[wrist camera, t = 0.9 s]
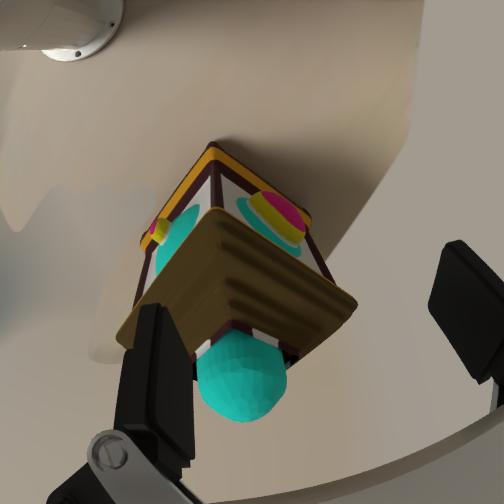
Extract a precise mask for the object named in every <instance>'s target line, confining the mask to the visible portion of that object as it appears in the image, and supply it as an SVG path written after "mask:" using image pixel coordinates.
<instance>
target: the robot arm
mask: <svg viewBox="0 0 504 504" xmlns="http://www.w3.org/2000/svg"><path fill="white" fill-rule="evenodd" d="M123 11H124V0H0V51H9V50H41V51H42V52H43V53H44V54H45V55H46V56H47V57H49V58H50V59H53V60H56V61H61V62H73V61H78V60H82V59H84V58H87V57H89V56H91V55H93V54H94V53H96V52H97V51H99V50H100V49H101V48H103V47H104V46H105V45H106V44H107V43H108V42H109V41H110V39H111V38H112V37H113V35H114V34H115V33H116V31H117V29H118V27H119V25H120V22H121V19H122V17H123ZM113 23H115V25H114V26H113V27H112V24H113ZM80 53H81V56H80V55H79V54H80ZM428 309H429V312H430V314H431V315H432V316H433V318H434V319H435V321H436V322H437V324H438V325H439V327H440V328H441V330H442V331H443V333H444V334H445V335H446V337H447V339H448V340H449V342H450V343H451V345H452V346H453V348H454V349H455V351H456V353H457V354H458V356H459V357H460V359H461V361H462V362H463V364H464V365H465V367H466V369H467V370H468V372H469V373H470V375H471V377H472V378H473V379H476V380H477V382H478V384H479V385H480V384H482V383H484V382H485V381H487V380H489V379H490V377H491V376H492V378H493V379H494V384H493V392H492V400H491V407H490V413H489V414H488V415H486V416H485V417H483V418H481V419H479V420H478V421H476V422H474V423H473V424H471V425H469V426H467V427H465V428H464V429H462V430H460V431H458V432H456V433H454V434H453V435H451V436H449V437H447V438H445V439H443V440H441V441H439V442H437V443H435V444H432V445H430V446H428V447H426V448H424V449H422V450H420V451H417V452H415V453H413V454H410V455H408V456H405V457H403V458H401V459H398V460H396V461H393V462H390V463H388V464H385V465H382V466H380V467H377V468H374V469H371V470H368V471H365V472H362V473H360V474H356V475H353V476H350V477H346V478H343V479H340V480H336V481H332V482H329V483H325V484H321V485H317V486H313V487H309V488H305V489H300V490H296V491H290V492H285V493H280V494H275V495H270V496H264V497H257V498H250V499H243V500H235V501H226V502H219V503H210V504H504V282H503V281H502V280H501V279H500V278H499V277H498V276H497V274H496V273H495V272H494V271H493V270H492V269H491V268H490V267H489V266H488V265H487V264H486V263H485V262H484V261H483V260H482V259H481V258H480V257H479V256H478V255H477V254H476V253H475V252H474V251H473V250H472V249H471V248H470V247H469V246H468V245H467V244H466V243H465V242H463V241H462V240H456V241H452V242H448V243H446V245H445V247H444V248H443V250H442V253H441V257H440V261H439V265H438V269H437V273H436V277H435V280H434V284H433V288H432V291H431V295H430V298H429V301H428ZM194 459H195V439H194V411H193V366H192V361H191V358H190V356H189V354H188V352H187V349H186V347H185V345H184V343H183V341H182V339H181V337H180V334H179V332H178V330H177V328H176V326H175V323H174V321H173V319H172V317H171V314H170V312H169V310H168V308H167V306H161V304H160V303H158V302H157V303H151V304H145V305H141V307H140V310H139V315H138V321H137V326H136V332H135V337H134V343H133V348H132V349H127V350H126V352H125V354H124V358H123V364H122V370H121V377H120V383H119V389H118V397H117V403H116V411H115V419H114V427H113V430H111V429H110V430H106V431H102V432H100V433H99V434H97V435H96V436H95V437H94V438H93V439H92V440H91V442H90V444H89V445H88V449H87V460H88V462H87V463H86V464H85V465H84V466H83V467H82V468H80V469H79V470H78V471H77V472H76V473H75V474H73V475H72V476H71V477H70V478H69V479H67V480H66V481H65V482H64V483H63V484H61V485H60V486H59V487H58V488H57V489H55V490H54V491H53V492H52V493H51V494H50V496H49V497H48V499H47V502H46V504H206V503H204V502H203V501H202V500H201V499H200V498H199V497H198V496H197V495H196V494H195V493H194V492H193V491H191V490H190V489H189V488H188V487H187V486H186V485H185V484H184V483H183V482H182V481H181V480H180V479H181V478H182V468H188V467H189V468H190V460H194Z"/></svg>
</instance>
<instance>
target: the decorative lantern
mask: <svg viewBox="0 0 504 504" xmlns="http://www.w3.org/2000/svg"><path fill="white" fill-rule="evenodd" d="M311 222H312V218H311V216H310V214H309V213H308V211H307V210H306V209H304V208H300V207H299V206H297V205H296V204H295V203H294V202H292V201H291V200H290V199H288V198H287V197H286V196H285V195H283V194H282V193H281V192H279V191H278V190H277V189H275V188H274V187H273V186H271V185H270V184H269V183H267V182H266V181H265V180H263V179H262V178H261V177H259V176H258V175H257V174H255V173H254V172H253V171H251V170H250V169H249V168H247V167H246V166H245V165H243V164H242V163H240V162H239V161H238V160H236V159H235V158H234V157H232V156H231V155H229V154H228V153H227V152H225V151H224V150H223V149H222V148H220V146H219V145H218V144H217V143H216V142H215V141H211V142H210V143H209V144H208V145H207V147H206V149H205V151H204V152H203V154H202V155H201V156H200V158H199V159H198V160H197V162H196V163H195V164H194V166H193V167H192V168H191V169H190V171H189V172H188V174H187V175H186V176H185V178H184V179H183V180H182V182H181V183H180V184H179V186H178V187H177V188H176V190H175V191H174V193H173V194H172V195H171V197H170V198H169V200H168V201H167V203H166V204H165V205H164V207H163V208H162V210H161V211H160V213H159V214H158V215H157V217H156V218H155V220H154V221H153V223H152V224H151V226H150V227H149V229H148V230H147V231H146V232H144V234H143V235H142V238H141V241H140V246H141V248H142V249H143V251H144V252H145V255H146V257H145V261H144V265H143V268H142V272H141V276H140V280H139V284H138V288H137V292H136V296H135V300H134V304H133V308H132V312H131V313H130V314H129V316H128V317H127V319H126V320H125V322H124V323H123V324H122V326H121V327H120V329H119V330H118V332H117V334H116V341H117V342H118V343H119V344H121V345H123V347H124V348H125V349H132V348H133V343H134V337H135V332H136V326H137V321H138V315H139V310H140V307H141V305H145V304H151V303H157V302H158V303H160V304H161V306H167V308H168V310H169V312H170V314H171V317H172V319H173V321H174V323H175V326H176V328H177V330H178V332H179V334H180V337H181V339H182V341H183V343H184V345H185V347H186V349H187V352H188V354H189V356H190V358H191V361H192V366H193V380H195V381H198V387H199V390H200V393H201V396H202V399H203V400H204V401H205V403H206V404H207V405H208V406H210V407H211V408H212V409H213V410H215V411H216V412H217V413H219V414H220V415H222V416H224V417H226V418H228V419H230V420H233V421H236V422H242V423H243V422H251V421H254V420H257V419H259V418H261V417H263V416H264V415H266V414H267V413H268V412H270V410H271V409H272V408H273V407H274V406H275V404H276V403H277V402H278V401H279V399H280V398H281V397H282V396H283V394H284V392H285V389H286V383H287V376H286V370H287V369H289V368H290V367H291V366H293V365H294V364H295V363H297V362H298V361H299V360H301V359H302V358H303V357H304V356H306V355H307V354H308V353H310V352H311V351H312V350H313V349H315V348H316V347H317V346H318V345H320V344H321V343H322V342H323V341H325V340H326V339H327V338H328V337H330V336H331V335H332V334H333V333H334V332H336V331H337V330H338V329H339V328H340V327H341V326H342V325H343V323H345V322H346V321H347V320H348V319H349V318H350V317H351V315H352V313H353V312H354V311H355V310H356V308H357V306H358V303H357V301H356V300H355V299H354V298H353V297H352V296H351V295H349V294H348V293H347V292H345V291H344V290H342V289H341V288H340V287H338V286H337V285H336V283H335V281H334V279H333V277H332V275H331V274H330V272H329V270H328V268H327V266H326V264H325V262H324V260H323V258H322V256H321V254H320V253H319V251H318V249H317V247H316V245H315V243H314V241H313V240H312V238H311V236H310V234H309V227H310V225H311Z"/></svg>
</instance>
